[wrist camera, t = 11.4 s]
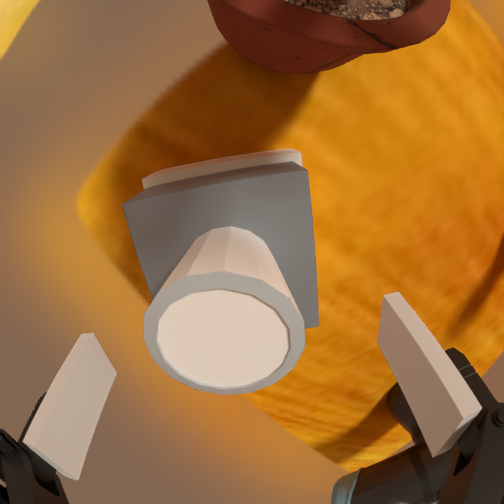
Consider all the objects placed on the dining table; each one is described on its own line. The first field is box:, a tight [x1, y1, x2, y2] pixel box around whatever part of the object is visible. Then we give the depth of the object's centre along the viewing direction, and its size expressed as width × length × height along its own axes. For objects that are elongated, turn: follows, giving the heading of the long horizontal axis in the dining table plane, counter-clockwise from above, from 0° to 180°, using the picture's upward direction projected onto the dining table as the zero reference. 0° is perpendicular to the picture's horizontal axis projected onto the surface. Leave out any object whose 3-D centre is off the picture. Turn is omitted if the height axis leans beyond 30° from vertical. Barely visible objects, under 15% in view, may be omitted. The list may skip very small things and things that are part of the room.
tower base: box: [142, 148, 303, 189], centre depth 24 cm, size 12×12×5 cm
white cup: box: [143, 226, 305, 395], centre depth 14 cm, size 7×7×7 cm
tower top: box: [122, 161, 319, 329], centre depth 20 cm, size 11×11×5 cm
